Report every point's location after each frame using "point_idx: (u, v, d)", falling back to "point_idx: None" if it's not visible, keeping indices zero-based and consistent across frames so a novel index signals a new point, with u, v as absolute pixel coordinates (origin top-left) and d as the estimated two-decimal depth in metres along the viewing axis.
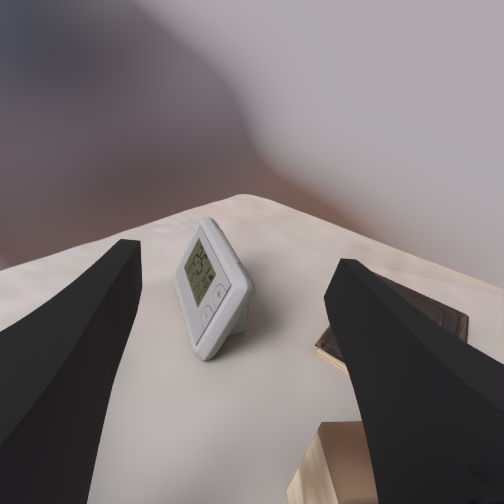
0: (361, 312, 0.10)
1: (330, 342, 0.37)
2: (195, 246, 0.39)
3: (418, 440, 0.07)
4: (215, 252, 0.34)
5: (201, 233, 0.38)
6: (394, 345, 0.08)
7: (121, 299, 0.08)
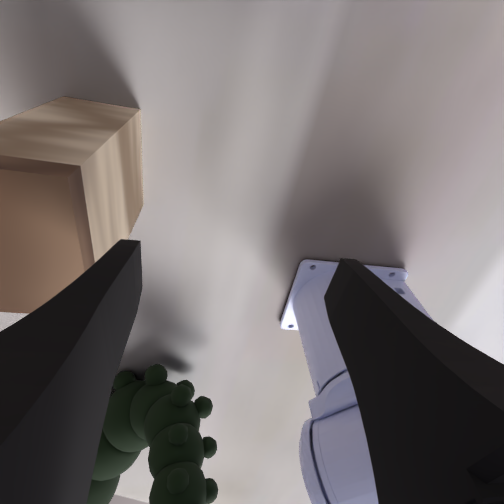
0: (361, 312, 0.10)
1: None
2: None
3: (418, 440, 0.07)
4: None
5: None
6: (394, 345, 0.08)
7: (121, 299, 0.08)
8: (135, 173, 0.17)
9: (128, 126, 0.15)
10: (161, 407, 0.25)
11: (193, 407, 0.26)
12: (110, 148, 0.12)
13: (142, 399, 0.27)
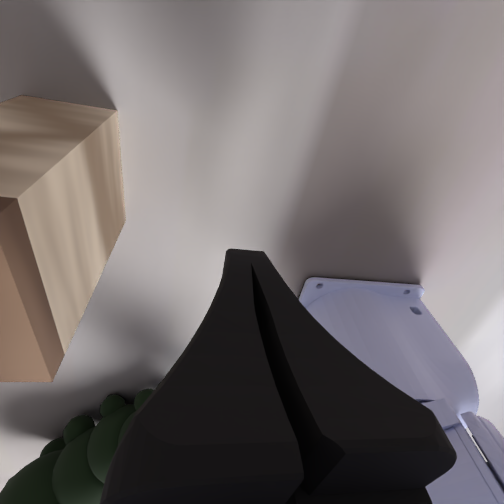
0: (253, 306, 0.09)
1: None
2: None
3: None
4: None
5: None
6: (267, 341, 0.07)
7: None
8: (112, 187, 0.14)
9: (99, 133, 0.12)
10: None
11: None
12: (72, 164, 0.10)
13: None
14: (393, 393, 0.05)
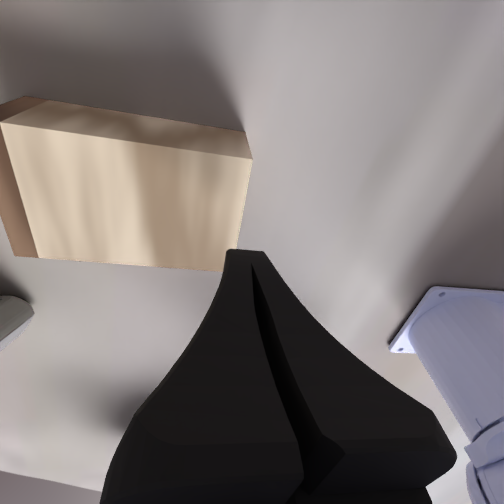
0: (253, 306, 0.09)
1: None
2: None
3: None
4: None
5: None
6: (267, 341, 0.07)
7: None
8: (200, 220, 0.14)
9: (181, 155, 0.12)
10: None
11: None
12: (99, 148, 0.11)
13: None
14: (393, 393, 0.05)
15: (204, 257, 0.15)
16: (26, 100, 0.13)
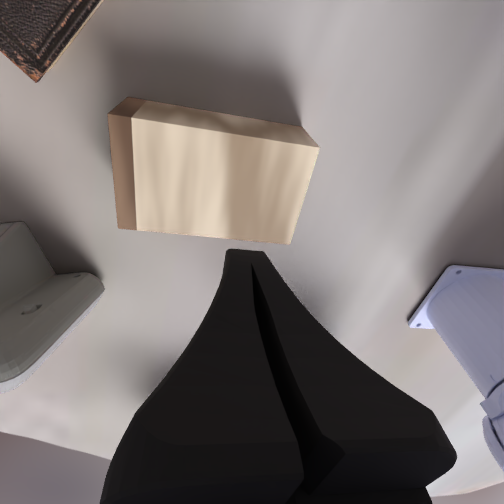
0: (253, 306, 0.09)
1: (17, 30, 0.13)
2: None
3: None
4: None
5: None
6: (267, 341, 0.07)
7: None
8: (271, 198, 0.17)
9: (264, 144, 0.15)
10: None
11: None
12: (202, 138, 0.14)
13: None
14: (393, 393, 0.05)
15: (269, 231, 0.18)
16: (132, 100, 0.16)
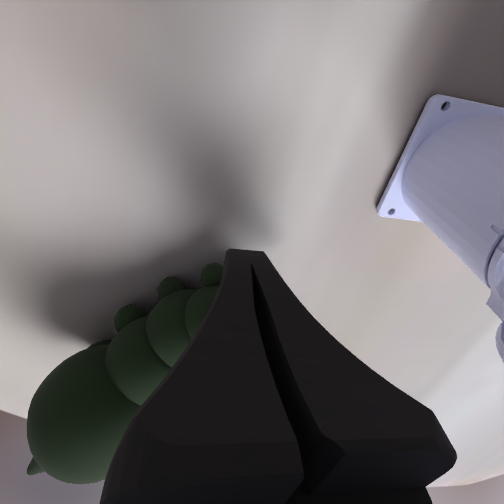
0: (253, 306, 0.09)
1: None
2: None
3: None
4: None
5: None
6: (267, 341, 0.07)
7: None
8: None
9: None
10: None
11: None
12: None
13: (202, 299, 0.20)
14: (393, 393, 0.05)
15: None
16: None
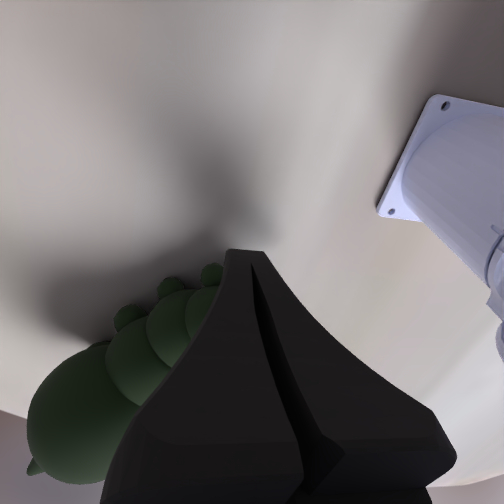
0: (253, 306, 0.09)
1: None
2: None
3: None
4: None
5: None
6: (267, 341, 0.07)
7: None
8: None
9: None
10: None
11: None
12: None
13: (202, 299, 0.20)
14: (393, 393, 0.05)
15: None
16: None
